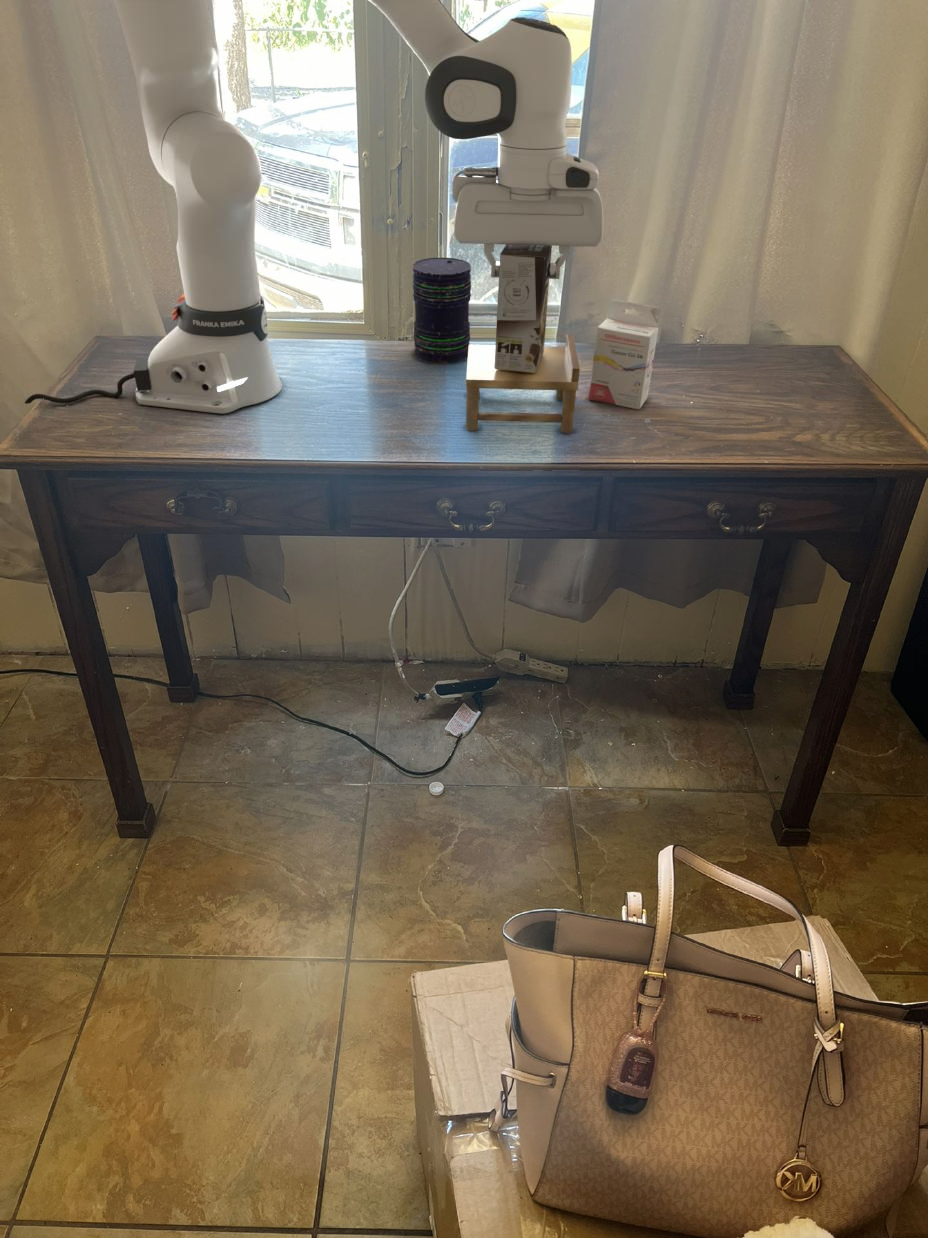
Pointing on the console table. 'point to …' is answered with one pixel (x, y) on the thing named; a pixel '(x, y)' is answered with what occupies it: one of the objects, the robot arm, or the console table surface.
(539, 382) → the miniature wooden bench
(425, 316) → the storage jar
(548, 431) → the console table surface
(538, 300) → the coffee box
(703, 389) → the console table surface
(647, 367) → the ink cartridge box
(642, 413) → the console table surface
